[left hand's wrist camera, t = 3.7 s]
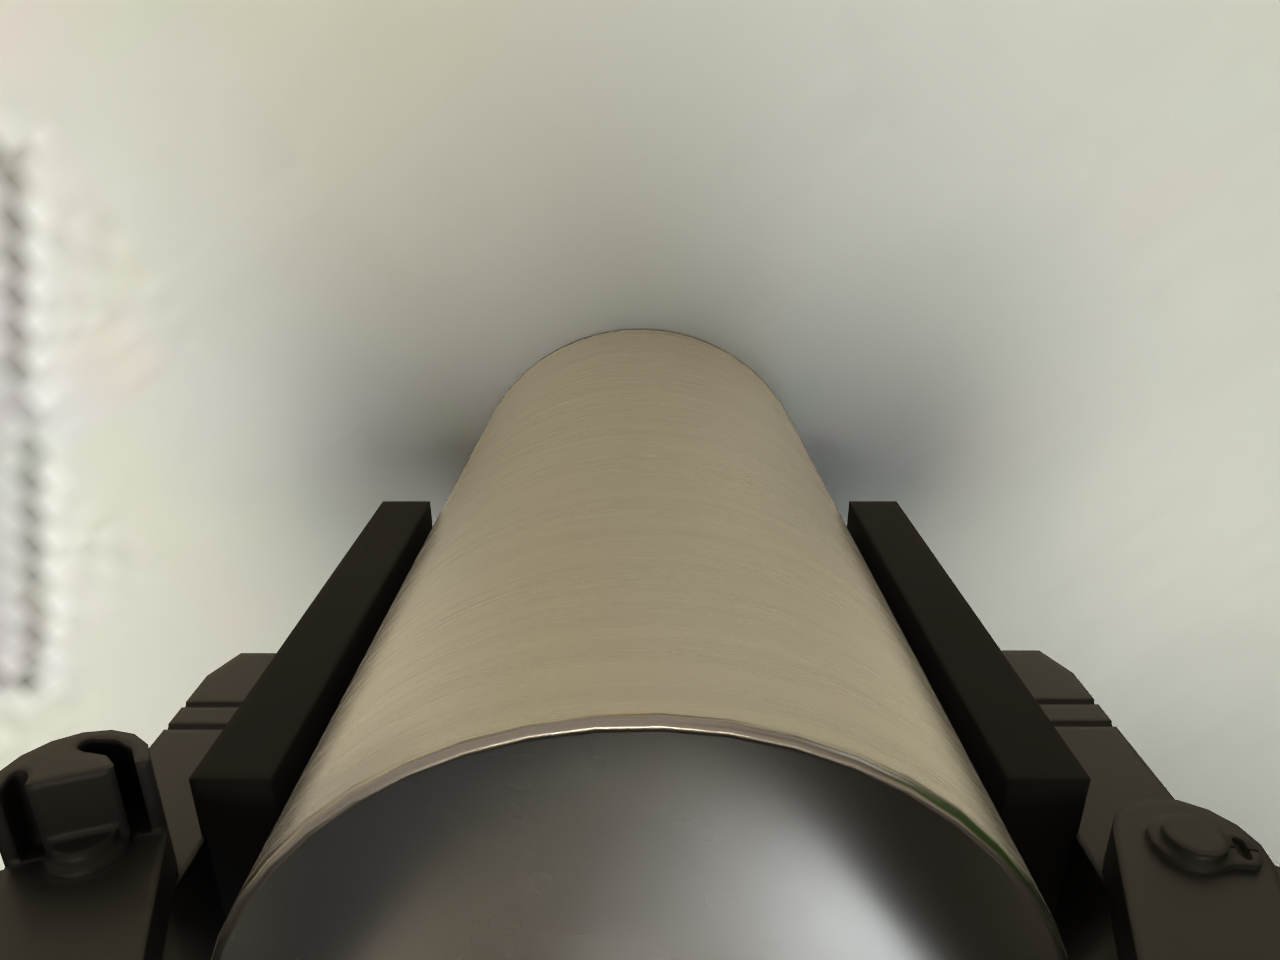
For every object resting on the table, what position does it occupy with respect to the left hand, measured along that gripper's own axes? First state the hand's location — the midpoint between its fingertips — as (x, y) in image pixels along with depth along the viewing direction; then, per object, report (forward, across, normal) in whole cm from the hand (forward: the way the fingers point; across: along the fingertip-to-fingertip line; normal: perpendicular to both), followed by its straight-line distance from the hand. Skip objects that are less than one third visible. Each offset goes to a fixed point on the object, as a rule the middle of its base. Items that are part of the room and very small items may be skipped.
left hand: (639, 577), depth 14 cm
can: (+4, 0, 0) cm, 4 cm away
